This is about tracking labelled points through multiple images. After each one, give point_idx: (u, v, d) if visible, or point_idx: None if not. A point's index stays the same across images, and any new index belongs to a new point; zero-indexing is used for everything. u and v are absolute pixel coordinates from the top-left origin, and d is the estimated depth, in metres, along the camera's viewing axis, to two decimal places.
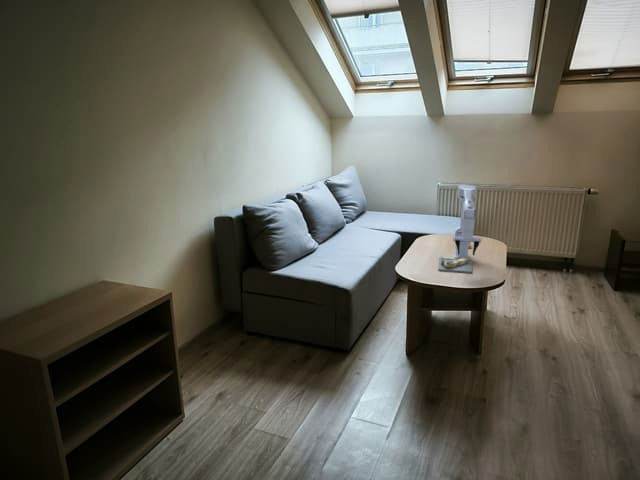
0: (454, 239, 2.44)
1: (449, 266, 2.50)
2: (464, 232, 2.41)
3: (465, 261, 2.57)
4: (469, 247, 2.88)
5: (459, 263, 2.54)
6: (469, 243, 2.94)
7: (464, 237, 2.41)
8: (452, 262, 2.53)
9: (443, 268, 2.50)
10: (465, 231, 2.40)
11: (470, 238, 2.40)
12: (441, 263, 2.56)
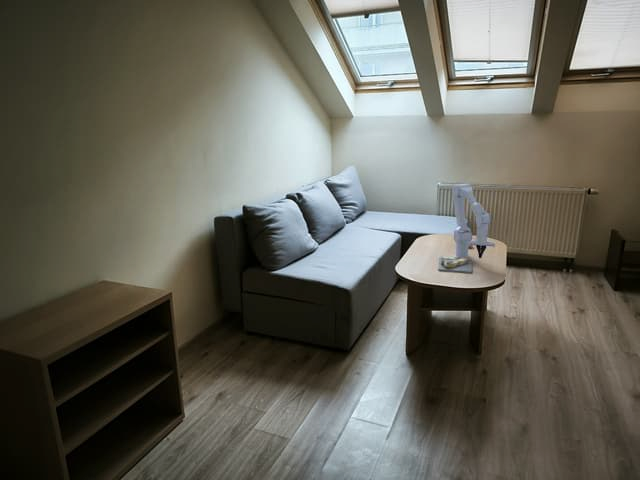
0: (469, 243, 2.55)
1: (449, 266, 2.50)
2: (478, 237, 2.51)
3: (465, 261, 2.57)
4: (471, 247, 2.88)
5: (459, 263, 2.54)
6: None
7: (478, 241, 2.52)
8: (452, 262, 2.53)
9: (443, 268, 2.50)
10: (479, 236, 2.50)
11: (484, 242, 2.51)
12: (441, 263, 2.56)
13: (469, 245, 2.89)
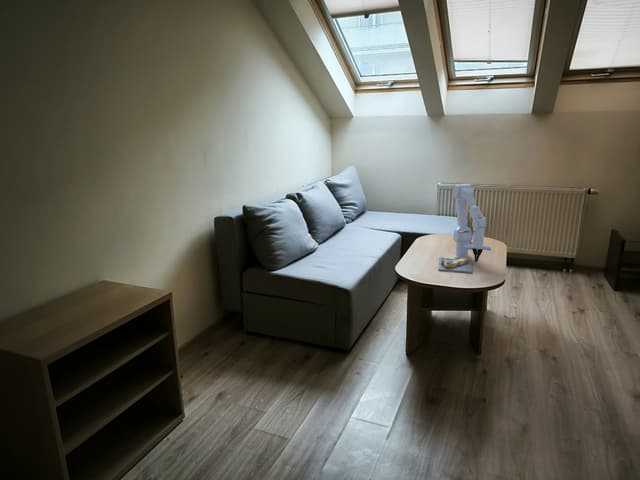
0: (465, 247, 2.56)
1: (449, 266, 2.50)
2: (475, 240, 2.52)
3: (465, 261, 2.57)
4: None
5: (459, 263, 2.54)
6: None
7: (475, 245, 2.53)
8: (452, 262, 2.53)
9: (443, 268, 2.50)
10: (476, 239, 2.52)
11: (480, 246, 2.52)
12: (441, 263, 2.56)
13: None
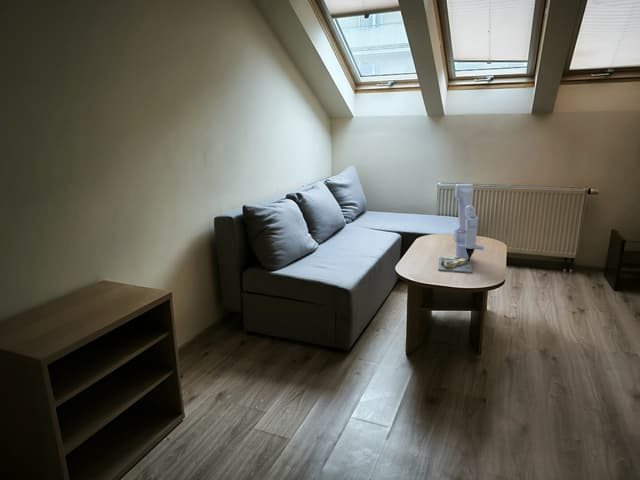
0: (457, 246, 2.57)
1: (449, 266, 2.50)
2: (467, 240, 2.53)
3: (465, 261, 2.57)
4: None
5: (459, 263, 2.54)
6: None
7: (467, 245, 2.54)
8: (452, 262, 2.53)
9: (443, 268, 2.50)
10: (468, 239, 2.53)
11: (473, 246, 2.53)
12: (441, 263, 2.56)
13: None
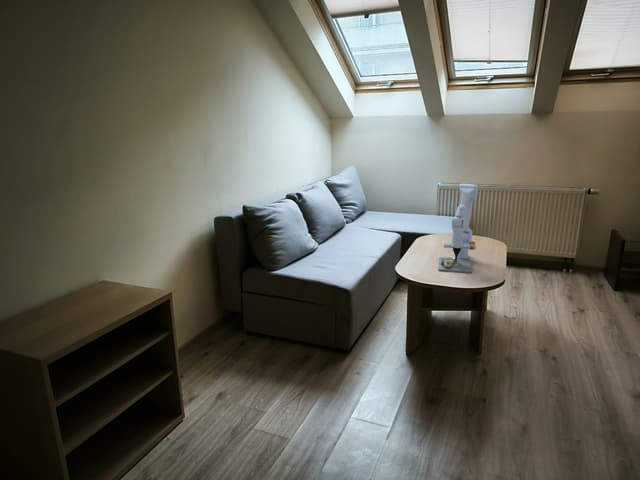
0: (444, 246, 2.59)
1: (450, 266, 2.50)
2: (454, 239, 2.55)
3: None
4: (472, 247, 2.87)
5: (453, 261, 2.57)
6: (473, 243, 2.93)
7: (454, 244, 2.56)
8: (449, 261, 2.54)
9: (443, 268, 2.50)
10: (455, 238, 2.55)
11: (459, 245, 2.55)
12: (441, 263, 2.56)
13: (471, 245, 2.89)
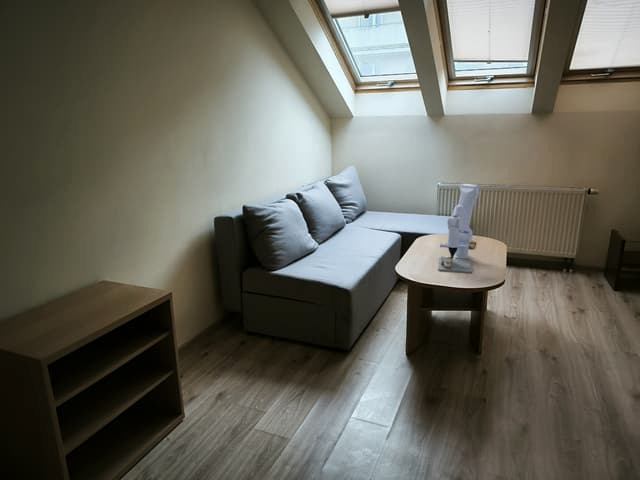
0: (441, 245, 2.60)
1: (450, 266, 2.50)
2: (450, 239, 2.56)
3: None
4: (472, 247, 2.87)
5: (450, 261, 2.58)
6: (474, 244, 2.93)
7: (450, 244, 2.56)
8: (448, 261, 2.54)
9: (443, 268, 2.50)
10: (451, 238, 2.55)
11: (455, 245, 2.56)
12: (441, 263, 2.56)
13: (470, 245, 2.89)
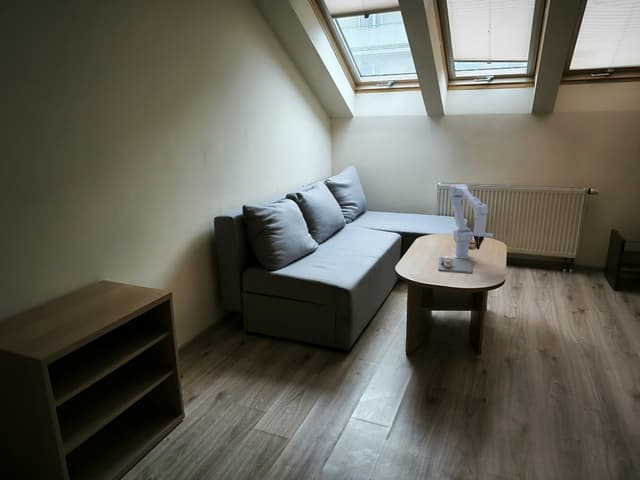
0: (466, 234, 2.55)
1: (450, 266, 2.50)
2: (476, 228, 2.51)
3: None
4: (472, 248, 2.87)
5: (450, 261, 2.58)
6: (475, 244, 2.92)
7: (476, 232, 2.52)
8: (448, 261, 2.54)
9: (443, 268, 2.50)
10: (477, 227, 2.50)
11: (482, 233, 2.51)
12: (441, 263, 2.56)
13: (470, 245, 2.88)
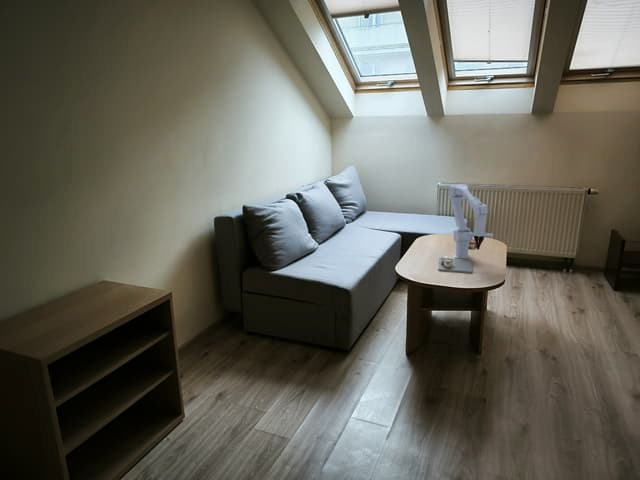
0: (466, 234, 2.55)
1: (450, 266, 2.50)
2: (476, 228, 2.51)
3: None
4: (471, 248, 2.87)
5: (450, 261, 2.58)
6: (475, 244, 2.92)
7: (476, 232, 2.52)
8: (448, 261, 2.54)
9: (443, 268, 2.50)
10: (477, 227, 2.50)
11: (482, 233, 2.51)
12: (441, 263, 2.56)
13: (470, 245, 2.88)
